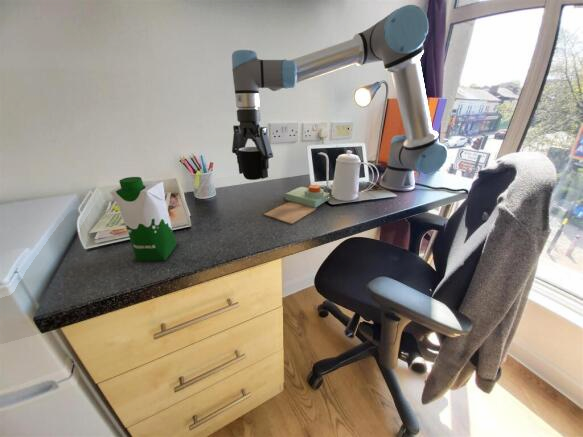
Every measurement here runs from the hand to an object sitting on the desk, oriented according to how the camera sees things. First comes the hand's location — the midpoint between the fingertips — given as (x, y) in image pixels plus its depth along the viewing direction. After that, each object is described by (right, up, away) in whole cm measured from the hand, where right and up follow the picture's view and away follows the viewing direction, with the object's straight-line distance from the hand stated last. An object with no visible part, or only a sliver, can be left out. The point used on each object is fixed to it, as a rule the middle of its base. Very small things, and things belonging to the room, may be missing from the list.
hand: (253, 175), depth 86 cm
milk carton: (-20, -25, -26) cm, 41 cm away
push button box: (+20, -8, +9) cm, 24 cm away
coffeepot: (+36, -7, +12) cm, 38 cm away
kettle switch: (+23, -5, +6) cm, 24 cm away
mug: (0, 0, +1) cm, 1 cm away
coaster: (+14, -14, -2) cm, 19 cm away
